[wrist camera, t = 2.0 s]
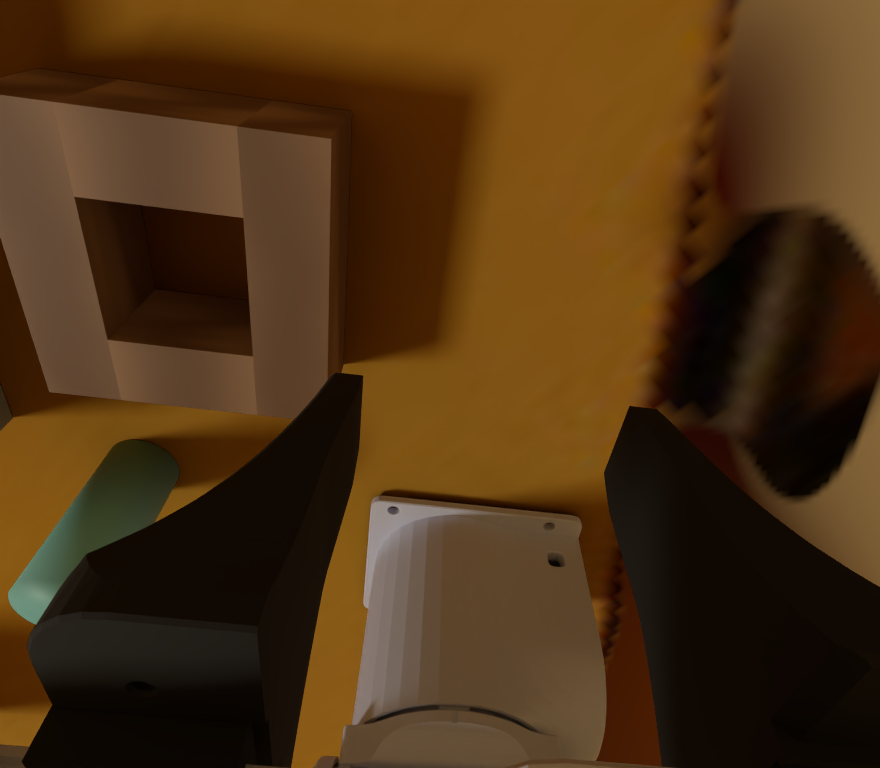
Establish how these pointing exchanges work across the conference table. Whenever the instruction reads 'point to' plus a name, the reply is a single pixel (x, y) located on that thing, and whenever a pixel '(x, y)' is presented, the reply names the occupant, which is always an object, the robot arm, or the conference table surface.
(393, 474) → the conference table surface
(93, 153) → the hole block
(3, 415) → the backstop wall
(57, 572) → the dowel
